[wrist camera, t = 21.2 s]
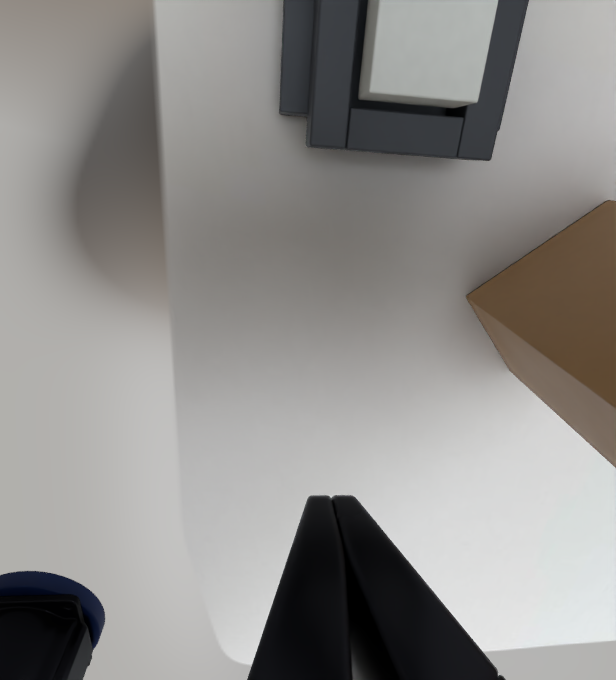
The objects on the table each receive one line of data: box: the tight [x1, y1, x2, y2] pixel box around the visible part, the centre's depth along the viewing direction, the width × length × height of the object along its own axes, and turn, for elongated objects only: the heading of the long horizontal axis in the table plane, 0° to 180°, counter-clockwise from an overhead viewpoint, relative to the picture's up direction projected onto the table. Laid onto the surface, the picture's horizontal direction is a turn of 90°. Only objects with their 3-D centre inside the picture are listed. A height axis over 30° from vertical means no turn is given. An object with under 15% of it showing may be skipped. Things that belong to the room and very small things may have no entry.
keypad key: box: [358, 0, 498, 108], centre depth 12 cm, size 3×3×2 cm
